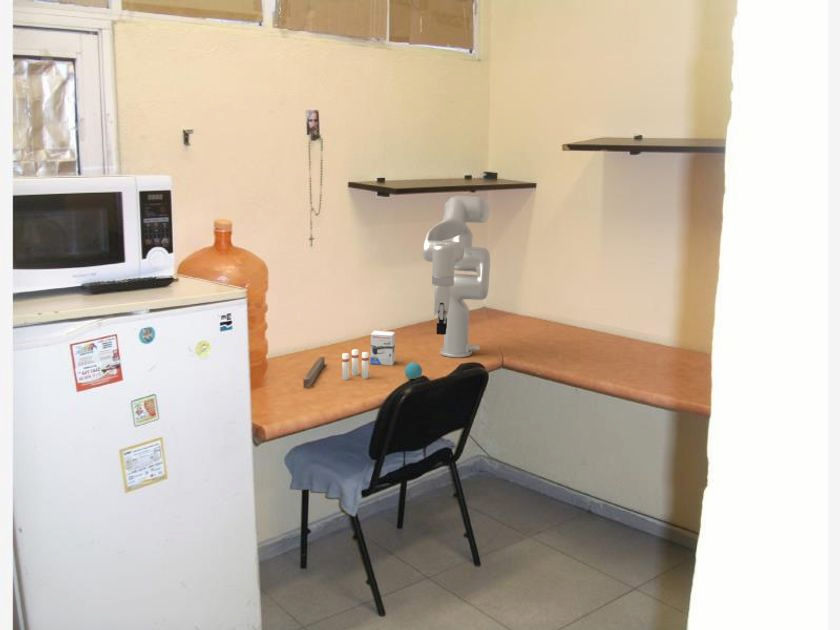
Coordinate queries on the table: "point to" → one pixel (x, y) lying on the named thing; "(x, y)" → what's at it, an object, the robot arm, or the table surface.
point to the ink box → (382, 348)
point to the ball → (413, 370)
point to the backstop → (313, 372)
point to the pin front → (365, 365)
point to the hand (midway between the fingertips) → (441, 331)
